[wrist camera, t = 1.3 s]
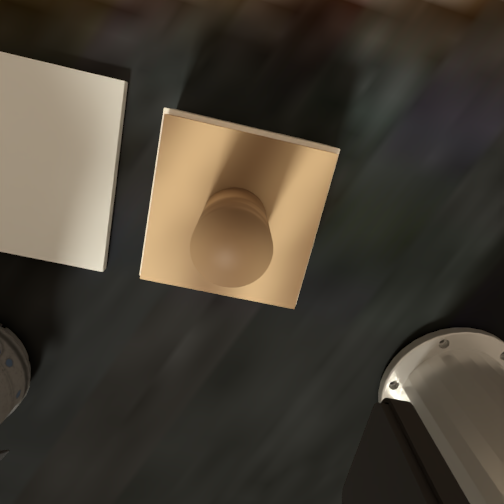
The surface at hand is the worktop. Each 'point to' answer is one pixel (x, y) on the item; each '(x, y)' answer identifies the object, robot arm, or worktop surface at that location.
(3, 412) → the beverage bottle
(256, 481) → the worktop surface
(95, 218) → the box
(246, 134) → the lid
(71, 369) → the worktop surface
